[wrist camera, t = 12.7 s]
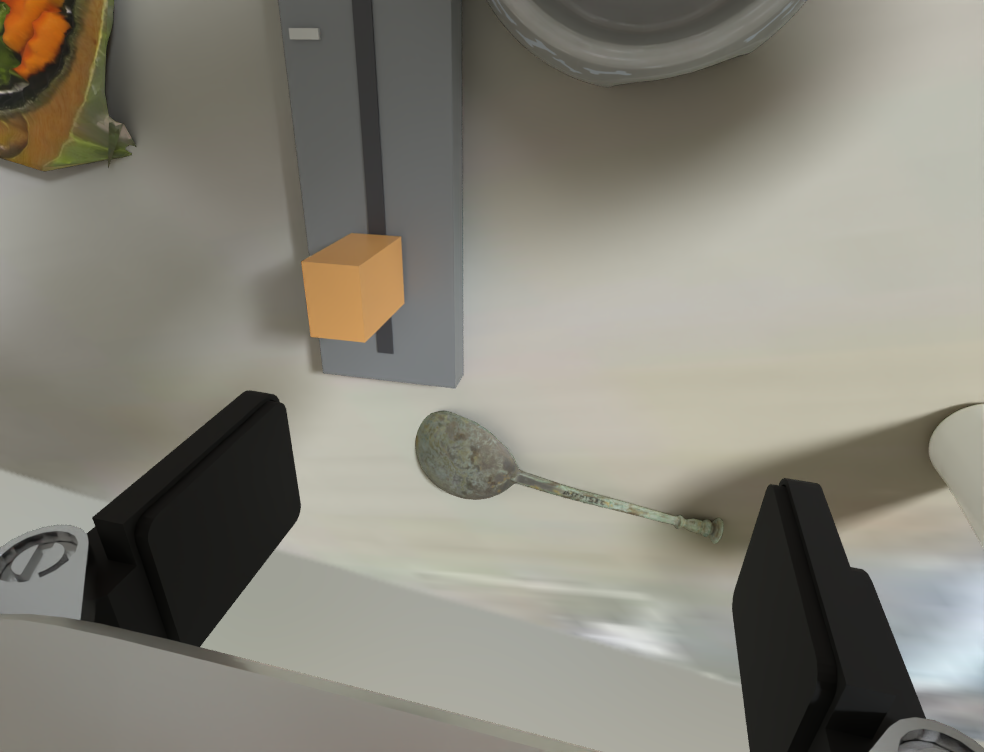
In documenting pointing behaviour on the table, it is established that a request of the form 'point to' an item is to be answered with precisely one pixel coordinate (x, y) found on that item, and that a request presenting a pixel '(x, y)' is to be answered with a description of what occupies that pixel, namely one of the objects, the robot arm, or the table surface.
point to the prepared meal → (56, 84)
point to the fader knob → (353, 286)
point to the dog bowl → (640, 34)
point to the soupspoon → (508, 471)
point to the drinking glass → (962, 462)
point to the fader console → (385, 165)
